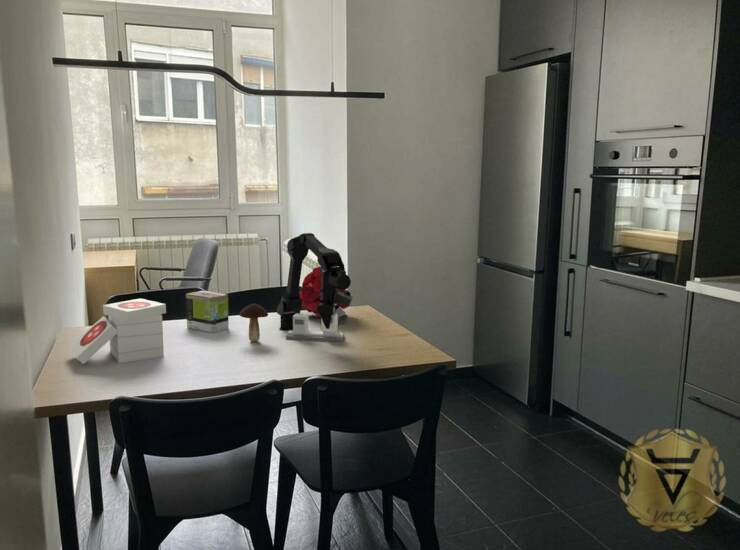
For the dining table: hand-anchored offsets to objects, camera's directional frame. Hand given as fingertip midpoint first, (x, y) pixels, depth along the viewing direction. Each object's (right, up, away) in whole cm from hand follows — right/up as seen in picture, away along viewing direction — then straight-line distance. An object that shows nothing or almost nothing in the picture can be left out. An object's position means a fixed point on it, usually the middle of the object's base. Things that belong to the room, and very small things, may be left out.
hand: (329, 326), depth 221 cm
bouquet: (-4, 0, +50) cm, 50 cm away
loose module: (0, -1, 0) cm, 1 cm away
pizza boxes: (-72, -10, -12) cm, 74 cm away
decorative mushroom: (-30, -7, +9) cm, 32 cm away
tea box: (-53, -3, +27) cm, 59 cm away
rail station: (-7, -6, +16) cm, 18 cm away
